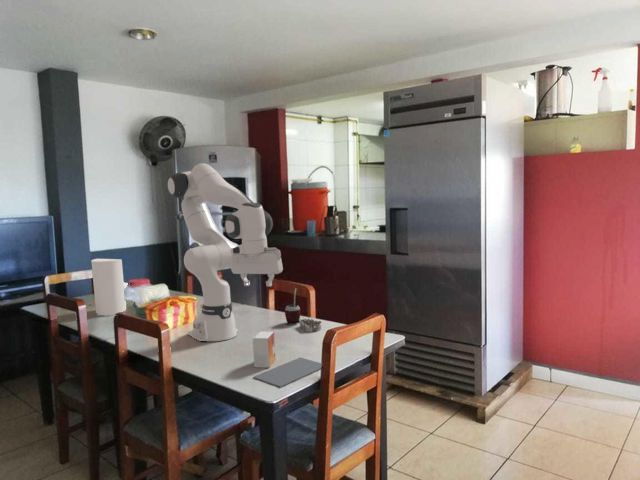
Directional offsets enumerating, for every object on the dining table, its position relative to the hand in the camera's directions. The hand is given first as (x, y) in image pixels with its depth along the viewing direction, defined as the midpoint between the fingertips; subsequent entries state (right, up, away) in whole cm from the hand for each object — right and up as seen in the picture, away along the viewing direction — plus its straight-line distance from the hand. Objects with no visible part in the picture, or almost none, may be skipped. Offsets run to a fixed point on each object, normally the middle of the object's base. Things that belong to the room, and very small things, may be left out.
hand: (258, 286), depth 177 cm
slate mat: (+13, -28, -13) cm, 33 cm away
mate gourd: (+10, -21, +45) cm, 51 cm away
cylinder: (-86, -21, +81) cm, 120 cm away
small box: (+3, -27, -4) cm, 28 cm away
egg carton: (+18, -22, +36) cm, 46 cm away
